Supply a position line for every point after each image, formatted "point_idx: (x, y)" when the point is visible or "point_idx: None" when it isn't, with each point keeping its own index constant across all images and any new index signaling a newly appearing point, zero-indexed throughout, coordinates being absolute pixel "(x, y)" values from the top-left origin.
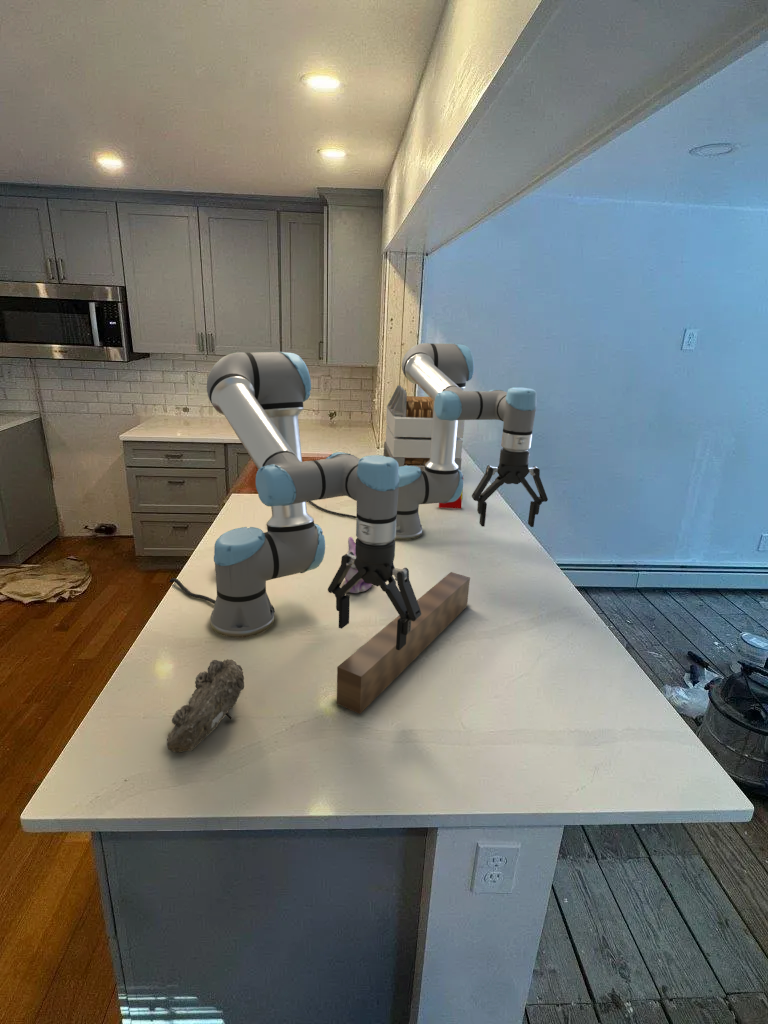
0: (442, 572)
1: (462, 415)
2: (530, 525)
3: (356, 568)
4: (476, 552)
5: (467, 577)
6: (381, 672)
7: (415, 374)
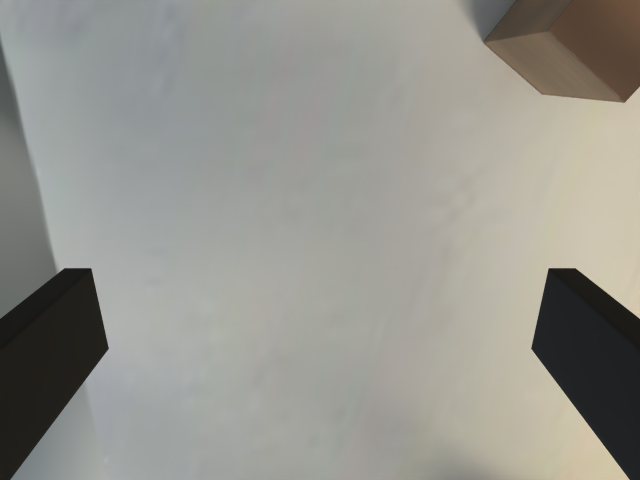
0: (485, 314)
1: None
2: (89, 288)
3: None
4: (318, 450)
5: (562, 29)
6: None
7: None
